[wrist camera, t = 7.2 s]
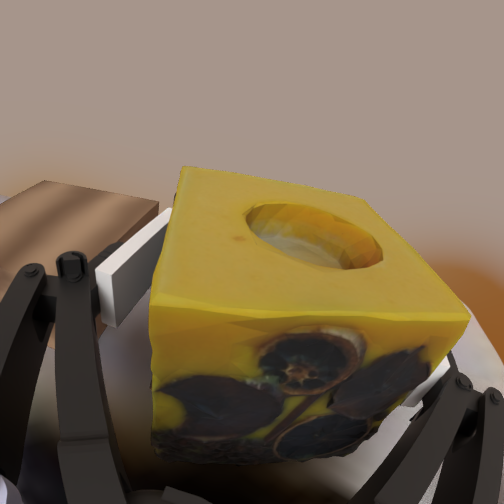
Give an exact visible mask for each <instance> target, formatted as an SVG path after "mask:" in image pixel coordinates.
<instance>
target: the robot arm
mask: <svg viewBox="0 0 504 504" xmlns="http://www.w3.org/2000/svg"><path fill="white" fill-rule="evenodd" d="M171 212H172V208H167V209H166V210H165V211H163V212H162V213H161V214H160V215H158V216H157V217H156V218H154V219H153V220H152V221H151V222H150V223H148V224H147V225H146V226H145V227H143V228H142V229H141V230H140V231H139V232H137V233H136V234H135V235H134V236H133V237H131V238H130V239H129V240H128V241H127V242H125V243H123V242H120V241H118V242H115V243H113V244H110V245H109V246H107V247H106V248H105V249H104V250H103V251H101V252H100V253H99V254H98V255H97V256H95V257H94V258H93V259H92V260H91V261H89V262H88V263H87V257H86V255H85V254H84V253H82V252H79V251H68V252H65V253H62V254H60V255H59V256H58V257H57V259H56V267H57V273H58V276H54V275H47V274H46V272H45V268H44V266H43V265H42V264H39V263H29V264H26V265H25V266H23V267H22V268H21V269H20V270H19V271H18V273H17V274H16V276H15V278H14V279H13V281H12V283H11V284H10V286H9V288H8V290H7V291H6V293H5V295H4V297H3V299H2V300H1V302H0V504H23V502H22V499H21V495H20V493H19V491H18V489H17V488H16V485H17V482H18V478H19V474H20V469H21V464H22V457H23V449H24V443H25V436H26V430H27V425H28V419H29V414H30V409H31V405H32V400H33V396H34V391H35V387H36V383H37V379H38V376H39V372H40V368H41V364H42V361H43V357H44V354H45V351H46V347H47V344H48V341H49V338H50V335H51V332H52V329H53V326H54V323H55V379H56V396H57V408H58V418H59V427H60V436H61V438H60V441H58V444H57V451H58V458H59V464H60V470H61V475H62V480H63V484H64V489H65V493H66V497H67V501H68V504H212V503H210V502H208V501H207V500H205V499H203V498H201V497H198V496H195V495H192V494H189V493H186V492H183V491H180V490H177V489H174V488H171V487H169V486H166V488H165V490H164V491H161V490H139V491H132V488H131V485H130V482H129V479H128V476H127V474H126V471H125V468H124V465H123V462H122V459H121V455H120V452H119V448H118V444H117V440H116V436H115V432H114V428H113V424H112V420H111V415H110V411H109V406H108V401H107V396H106V390H105V385H104V379H103V373H102V367H101V360H100V353H99V345H98V336H97V327H96V320H95V318H96V317H97V316H98V315H99V313H101V320H102V323H105V324H107V325H109V326H112V327H114V328H116V329H117V328H118V326H119V325H120V324H121V322H122V321H123V320H124V319H125V317H126V316H127V315H128V314H129V312H130V311H131V310H132V309H133V307H134V306H135V305H136V304H137V302H138V301H139V300H140V299H141V297H142V296H143V295H144V294H145V292H146V291H147V290H148V289H149V287H150V286H151V285H152V279H153V273H154V271H155V268H156V265H157V262H158V260H159V257H160V254H161V251H162V248H163V243H164V238H165V234H166V230H167V226H168V223H169V219H170V215H171ZM451 352H452V351H451V350H450V351H449V353H448V354H447V355H446V356H445V358H444V359H443V360H442V362H441V363H440V364H439V366H438V367H437V368H436V369H435V371H434V372H433V373H432V374H431V376H430V377H429V378H428V379H427V380H426V381H425V382H423V383H422V384H420V385H418V386H417V387H416V388H415V389H414V390H412V391H409V392H408V394H407V396H406V397H405V399H404V401H403V402H402V403H401V404H400V406H407V407H415V406H416V405H417V404H418V403H419V402H420V401H421V400H422V401H423V407H422V408H421V409H420V410H419V411H418V412H417V413H416V414H415V415H414V416H413V417H412V418H411V419H410V421H412V422H411V423H410V425H409V426H408V428H407V429H406V431H405V432H404V434H403V435H402V437H401V438H400V440H399V441H398V442H397V444H396V445H395V446H394V448H393V449H392V451H391V452H390V453H389V455H388V456H387V457H386V458H385V460H384V461H383V462H382V464H381V465H380V466H379V467H378V469H377V470H376V471H375V472H374V474H373V475H372V476H371V477H370V478H369V480H368V481H367V482H366V483H365V484H364V485H363V487H362V488H361V489H360V490H359V491H358V492H357V493H356V494H355V496H354V497H353V498H352V499H351V500H350V501H349V502H348V503H347V504H418V503H419V501H420V500H421V498H422V497H423V495H424V493H425V492H426V490H427V489H428V487H429V485H430V483H431V482H432V480H433V478H434V476H435V475H436V473H437V471H438V469H439V467H440V465H441V463H442V462H443V465H442V469H441V473H440V477H439V480H438V484H437V487H436V490H435V494H434V497H433V500H432V503H431V504H497V503H498V498H499V491H500V484H501V477H502V467H503V456H504V398H503V396H502V394H501V392H500V391H499V390H497V389H495V388H493V387H489V388H488V389H487V390H486V391H485V392H484V393H483V394H482V393H480V392H478V391H476V390H474V389H473V385H472V382H471V381H470V379H469V378H468V377H467V376H466V375H464V374H463V373H460V372H459V371H458V368H457V365H456V362H455V360H454V357H453V354H452V353H451ZM443 460H444V461H443Z"/></svg>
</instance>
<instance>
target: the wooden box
mask: <svg viewBox="0 0 504 504" xmlns="http://www.w3.org/2000/svg"><path fill="white" fill-rule="evenodd" d="M158 210H159V202H158V201H153V200H148V199H143V198H138V197H133V196H128V195H122V194H117V193H111V192H107V191H101V190H96V189H90V188H85V187H79V186H74V185H67V184H62V183H57V182H51V181H45V180H44V181H42V182H40V183H38V184H36V185H34V186H32V187H30V188H29V189H27V190H25V191H23V192H21V193H19V194H17V195H16V196H14V197H12V198H10V199H8V200H7V201H5V202H3V203H1V204H0V302H1V300H2V299H3V297H4V295H5V293H6V291H7V290H8V288H9V286H10V284H11V283H12V281H13V279H14V278H15V276H16V274H17V273H18V271H19V270H20V269H21V268H22V267H23V266H25V265H26V264H29V263H39V264H42V265H43V266H44V268H45V272H46V274H47V275H54V276H58V273H57V267H56V259H57V257H58V256H59V255H60V254H62V253H65V252H68V251H79V252H82V253H84V254H85V255H86V257H87V263H88V262H89V261H91V260H92V259H93V258H94V257H95V256H97V255H98V254H99V253H100V252H101V251H103V250H104V249H105V248H106V247H107V246H109V245H110V244H113V243H115V242H118V241H120V242H123V243H125V242H127V241H128V240H129V239H130V238H131V237H133V236H134V235H135V234H136V233H137V232H139V231H140V230H141V229H142V228H143V227H145V226H146V225H147V224H148V223H150V222H151V221H152V220H153V219H154V218H156V217H157V216H158ZM95 320H96V327H97V336H98V339H99V337H100V336H101V334H102V333H103V331H104V330H105V328H106V327H107V324H105V323H102V320H101V313H99V315H98V316H97V317H96V318H95ZM47 346H48V347H51V348H53V349H55V323H54V326H53V329H52V332H51V335H50V338H49V341H48V344H47Z"/></svg>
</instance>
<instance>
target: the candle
mask: <svg viewBox="0 0 504 504" xmlns="http://www.w3.org/2000/svg"><path fill="white" fill-rule="evenodd" d="M470 318H471V315H470V313H469V312H468V310H467V309H466V308H465V306H464V305H463V304H462V302H461V301H460V300H459V298H458V297H457V296H456V295H455V294H454V293H453V292H452V290H451V289H450V288H449V287H448V286H447V285H446V284H445V283H444V281H443V280H442V279H441V278H440V277H439V276H438V275H437V274H436V273H435V272H434V271H433V270H432V269H431V268H430V267H429V265H428V264H427V263H426V262H425V261H424V260H423V258H422V257H421V256H420V255H419V254H418V253H417V252H416V251H415V249H414V248H413V247H412V246H410V245H409V244H408V243H407V242H406V241H405V240H404V239H403V238H402V237H401V236H400V235H399V234H398V233H397V232H396V231H395V230H394V229H392V228H391V227H390V226H389V225H388V224H387V223H386V222H385V221H384V220H383V219H382V218H381V217H380V216H379V215H378V214H377V213H376V212H375V211H374V210H373V209H372V208H371V207H370V206H369V205H368V203H367V202H366V201H365V200H363V199H360V198H357V197H355V196H350V195H346V194H341V193H336V192H331V191H326V190H322V189H317V188H314V187H309V186H304V185H299V184H293V183H288V182H282V181H277V180H271V179H265V178H260V177H255V176H249V175H244V174H238V173H233V172H226V171H219V170H211V169H203V168H197V167H191V166H183V167H182V170H181V172H180V179H179V182H178V186H177V192H176V194H175V196H174V203H173V208H172V212H171V215H170V219H169V223H168V226H167V230H166V234H165V238H164V243H163V248H162V251H161V254H160V257H159V260H158V262H157V265H156V268H155V271H154V273H153V279H152V286H151V294H150V302H149V319H148V330H149V338H150V342H151V346H152V357H151V371H152V373H153V374H152V381H151V384H150V389H151V390H152V399H153V421H152V428H151V445H152V446H153V447H155V450H154V452H155V454H156V456H157V457H158V458H160V459H162V460H164V461H167V462H169V463H170V462H174V461H183V462H193V463H197V464H206V463H218V464H232V463H234V464H235V465H237V466H242V465H254V464H264V463H278V462H288V461H298V462H304V461H307V460H310V459H313V458H328V457H332V456H339V457H344V456H346V455H348V454H351V453H353V452H354V451H355V450H356V449H357V448H358V446H359V445H360V444H361V443H362V442H363V441H364V440H368V439H370V438H371V437H372V436H373V435H374V434H375V433H377V432H378V428H379V426H380V425H381V423H382V421H383V420H384V419H385V418H386V417H387V416H388V415H389V414H390V413H391V412H392V411H393V410H394V409H395V408H396V407H397V406H399V405H400V404H401V403H402V402H403V401H404V399H405V397H406V396H407V394H408V392H409V391H412V390H414V389H415V388H416V387H417V386H418V385H420V384H422V383H423V382H425V381H426V380H427V379H428V378H429V377H430V376H431V374H432V373H433V372H434V371H435V369H436V368H437V367H438V366H439V364H440V363H441V362H442V360H443V359H444V358H445V356H446V355H447V354H448V353H449V351H450V350H451V349H452V348H453V347H454V345H455V344H456V343H457V341H458V340H459V339H460V338H461V336H462V335H463V333H464V331H465V329H466V327H467V325H468V323H469V320H470Z"/></svg>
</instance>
